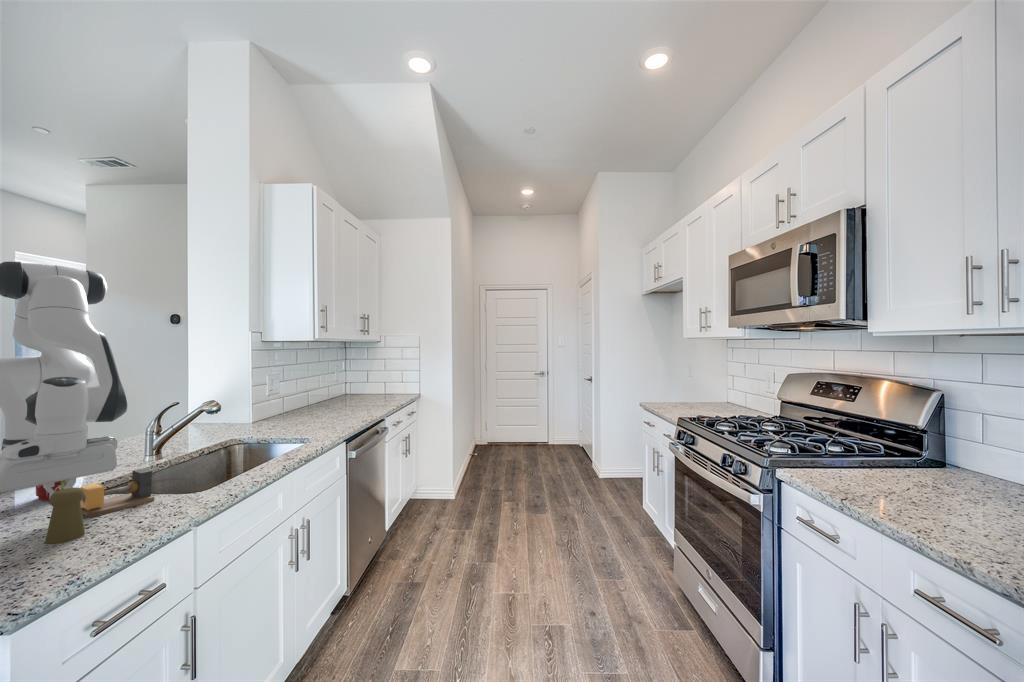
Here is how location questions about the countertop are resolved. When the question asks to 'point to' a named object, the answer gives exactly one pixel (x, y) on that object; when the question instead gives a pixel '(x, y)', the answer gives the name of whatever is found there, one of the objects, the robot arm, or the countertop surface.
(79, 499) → the cork
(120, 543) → the countertop surface
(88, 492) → the sleeve
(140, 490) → the sliding block toy
